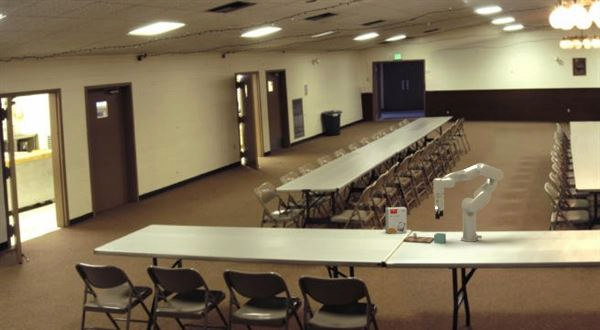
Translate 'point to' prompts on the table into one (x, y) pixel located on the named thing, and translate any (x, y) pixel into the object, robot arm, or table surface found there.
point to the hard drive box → (396, 220)
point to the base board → (418, 239)
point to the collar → (439, 237)
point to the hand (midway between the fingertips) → (439, 217)
